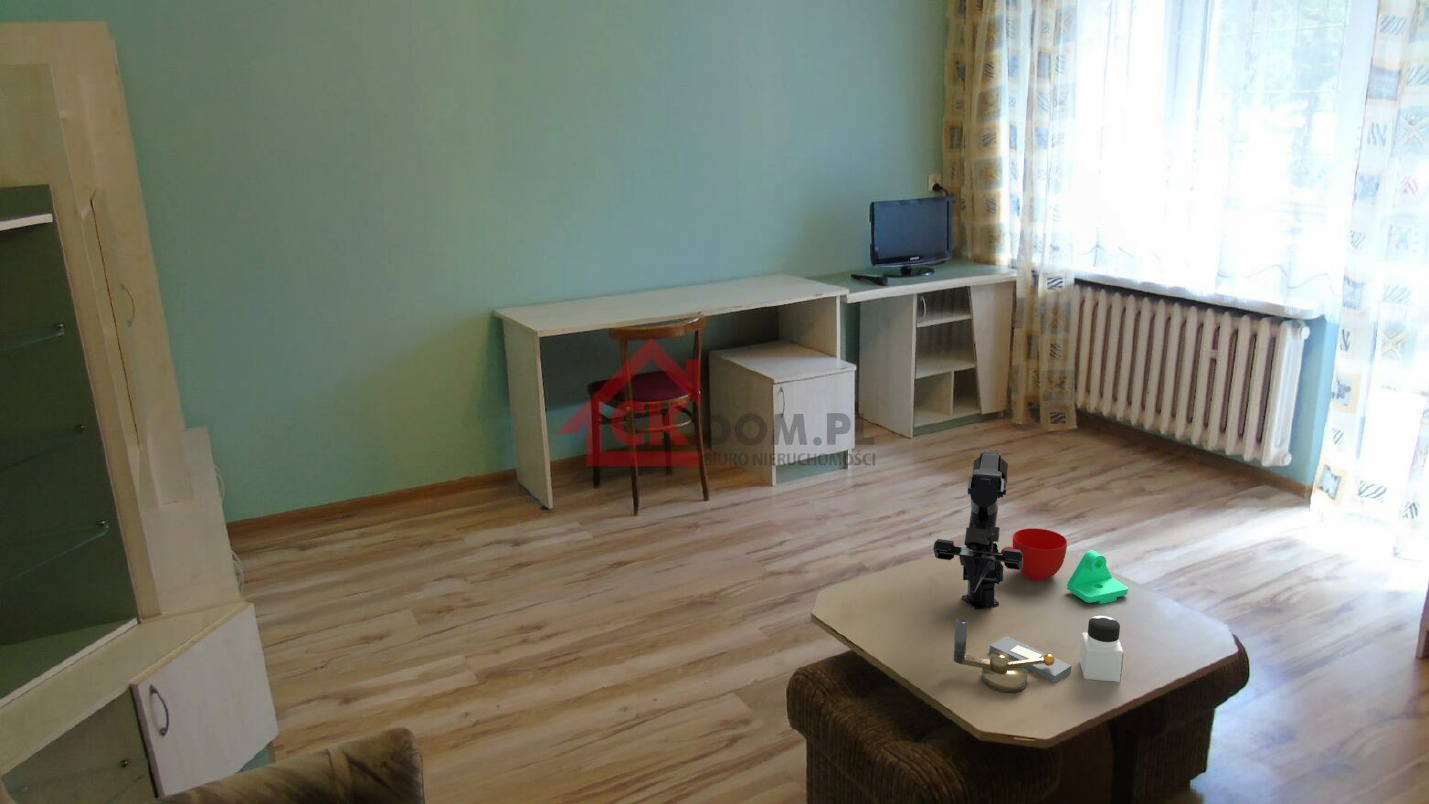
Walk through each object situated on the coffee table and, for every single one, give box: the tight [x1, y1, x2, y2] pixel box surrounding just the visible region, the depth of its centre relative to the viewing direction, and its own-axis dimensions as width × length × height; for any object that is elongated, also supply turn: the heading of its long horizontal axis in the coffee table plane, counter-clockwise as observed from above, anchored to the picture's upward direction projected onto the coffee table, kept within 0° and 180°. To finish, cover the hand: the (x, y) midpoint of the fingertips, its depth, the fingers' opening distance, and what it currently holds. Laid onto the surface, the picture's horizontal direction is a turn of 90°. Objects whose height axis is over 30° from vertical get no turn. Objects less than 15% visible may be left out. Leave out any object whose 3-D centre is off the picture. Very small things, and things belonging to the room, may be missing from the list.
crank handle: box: [953, 618, 1055, 693], centre depth 205 cm, size 20×12×12 cm, turn 68°
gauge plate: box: [989, 635, 1072, 683], centre depth 212 cm, size 16×6×2 cm, turn 39°
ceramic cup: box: [1000, 527, 1068, 582], centre depth 248 cm, size 13×17×10 cm
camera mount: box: [1066, 549, 1129, 605], centre depth 238 cm, size 12×8×10 cm, turn 109°
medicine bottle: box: [1079, 615, 1124, 683], centre depth 206 cm, size 7×7×12 cm
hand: (972, 591), depth 214 cm, fingers closed
